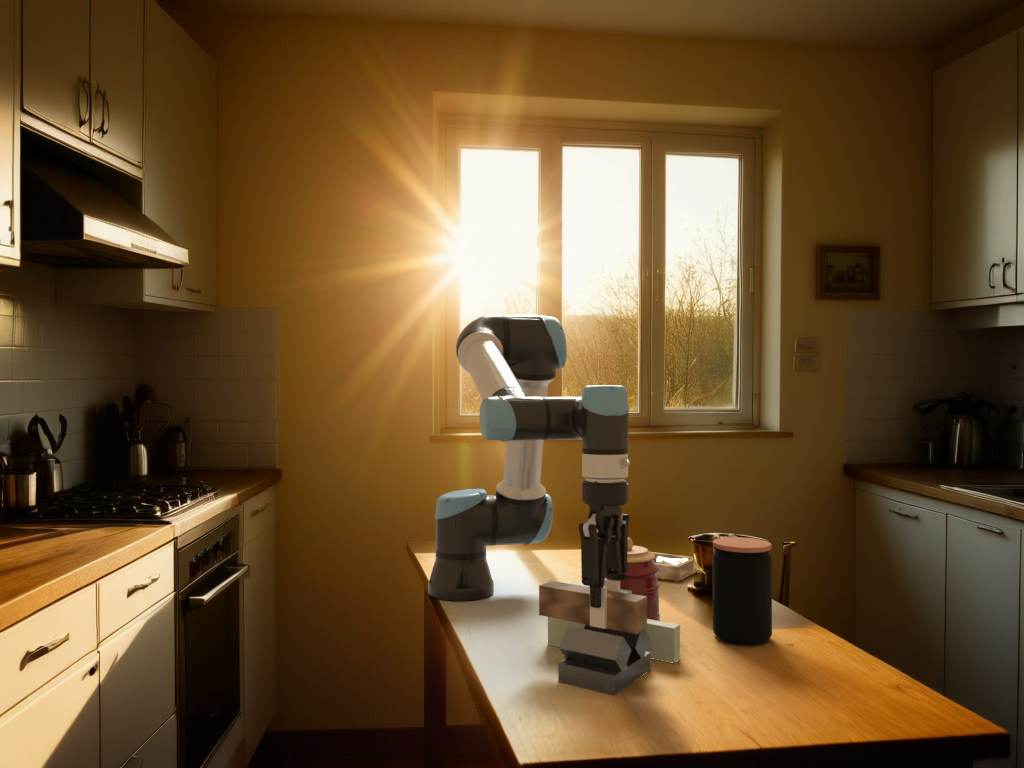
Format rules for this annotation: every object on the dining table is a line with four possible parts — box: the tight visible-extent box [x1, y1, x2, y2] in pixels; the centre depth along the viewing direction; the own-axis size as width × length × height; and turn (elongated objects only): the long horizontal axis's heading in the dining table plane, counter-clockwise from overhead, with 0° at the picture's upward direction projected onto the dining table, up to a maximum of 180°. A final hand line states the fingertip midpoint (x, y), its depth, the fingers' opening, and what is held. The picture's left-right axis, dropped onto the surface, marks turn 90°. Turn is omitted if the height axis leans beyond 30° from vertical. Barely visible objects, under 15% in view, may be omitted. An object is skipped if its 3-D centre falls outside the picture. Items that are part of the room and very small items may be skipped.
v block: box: [557, 624, 651, 696], centre depth 127 cm, size 10×13×8 cm
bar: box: [538, 580, 647, 634], centre depth 129 cm, size 18×4×5 cm, turn 55°
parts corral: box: [650, 551, 693, 581], centre depth 200 cm, size 14×13×4 cm
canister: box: [605, 536, 661, 621], centre depth 154 cm, size 13×13×18 cm
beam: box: [547, 581, 681, 664], centre depth 140 cm, size 23×10×10 cm, turn 55°
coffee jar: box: [712, 536, 773, 647], centre depth 147 cm, size 11×11×18 cm
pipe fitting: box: [656, 556, 689, 566], centre depth 200 cm, size 8×4×7 cm
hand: (605, 622), depth 127 cm, fingers closed on bar, 4 cm apart
